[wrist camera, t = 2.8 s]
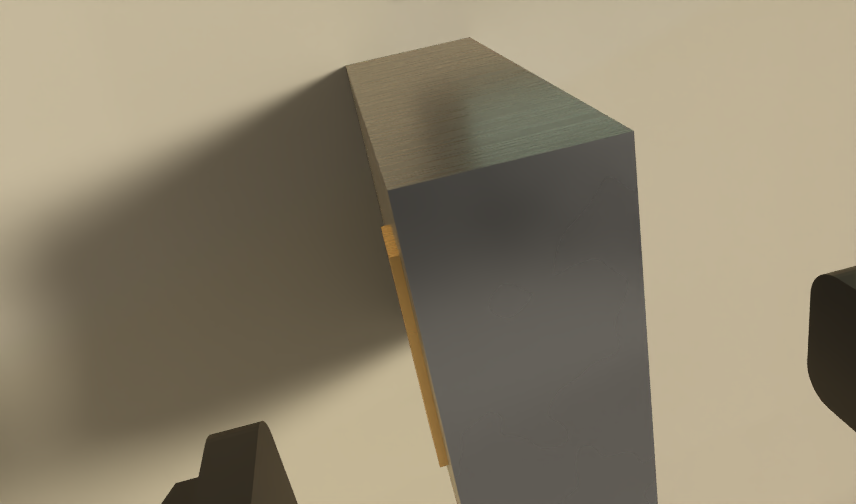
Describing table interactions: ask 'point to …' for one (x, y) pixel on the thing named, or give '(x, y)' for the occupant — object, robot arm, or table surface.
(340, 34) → the table surface
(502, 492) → the block
